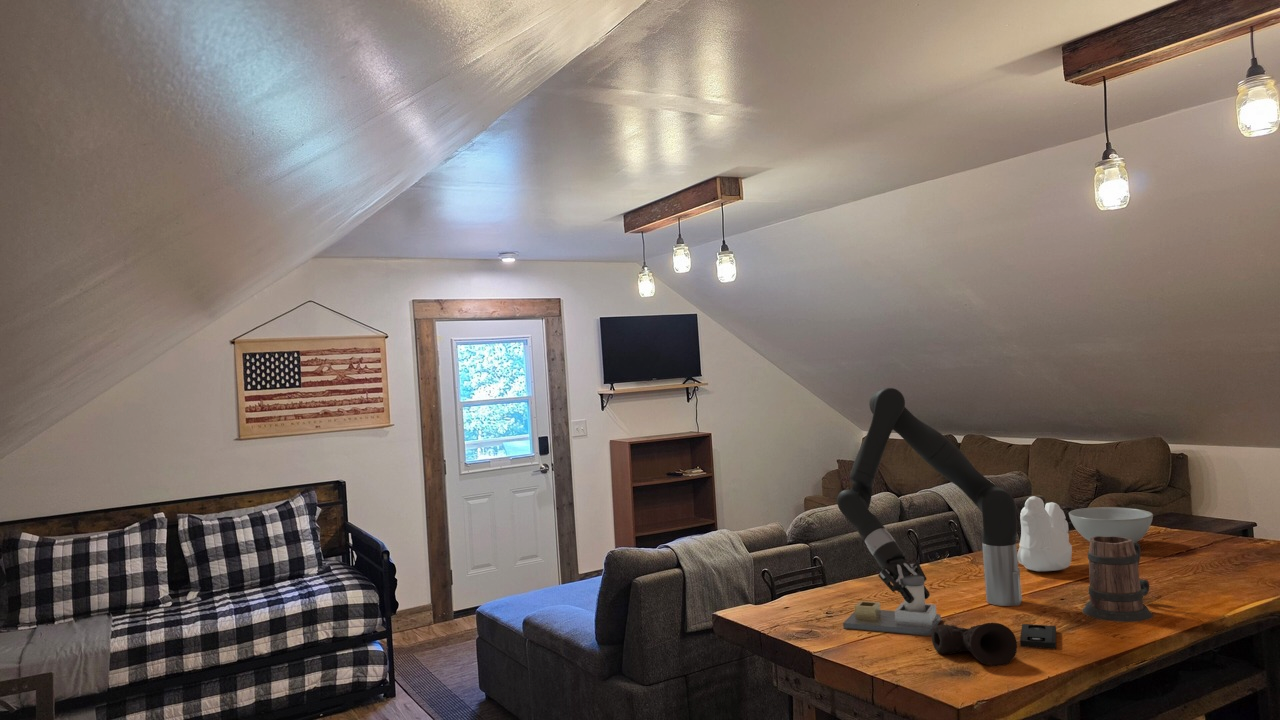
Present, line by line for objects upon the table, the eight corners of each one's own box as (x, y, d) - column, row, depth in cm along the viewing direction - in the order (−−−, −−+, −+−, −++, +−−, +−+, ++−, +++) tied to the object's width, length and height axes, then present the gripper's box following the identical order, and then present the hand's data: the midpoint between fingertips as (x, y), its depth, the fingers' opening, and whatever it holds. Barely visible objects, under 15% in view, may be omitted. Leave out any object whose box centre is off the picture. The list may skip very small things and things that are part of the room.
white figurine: (1047, 579, 267) (1041, 501, 267) (1006, 570, 281) (1000, 496, 282) (1099, 567, 278) (1093, 491, 278) (1057, 559, 292) (1051, 487, 293)
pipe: (928, 617, 211) (952, 623, 197) (987, 616, 212) (1015, 622, 197) (931, 658, 209) (956, 667, 195) (990, 657, 210) (1020, 666, 195)
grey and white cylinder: (928, 612, 230) (926, 575, 230) (924, 618, 225) (921, 580, 225) (906, 610, 233) (904, 574, 233) (902, 616, 228) (899, 579, 228)
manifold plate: (941, 620, 233) (939, 601, 233) (930, 636, 220) (928, 616, 220) (858, 613, 244) (857, 596, 244) (843, 628, 231) (842, 610, 231)
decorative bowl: (1055, 542, 318) (1053, 510, 318) (1121, 536, 320) (1119, 505, 321) (1102, 557, 291) (1099, 522, 291) (1173, 550, 294) (1170, 515, 294)
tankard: (1131, 625, 217) (1125, 548, 218) (1069, 612, 232) (1063, 539, 232) (1178, 607, 229) (1172, 534, 230) (1116, 596, 244) (1110, 527, 244)
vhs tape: (1022, 631, 220) (1022, 623, 220) (1056, 633, 216) (1055, 625, 217) (1020, 648, 207) (1019, 640, 207) (1056, 651, 204) (1055, 642, 204)
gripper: (871, 544, 232) (906, 596, 221) (909, 536, 239) (945, 586, 228) (859, 560, 237) (893, 612, 226) (896, 552, 244) (931, 602, 233)
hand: (919, 599), depth 227 cm, fingers closed on grey and white cylinder, 5 cm apart
